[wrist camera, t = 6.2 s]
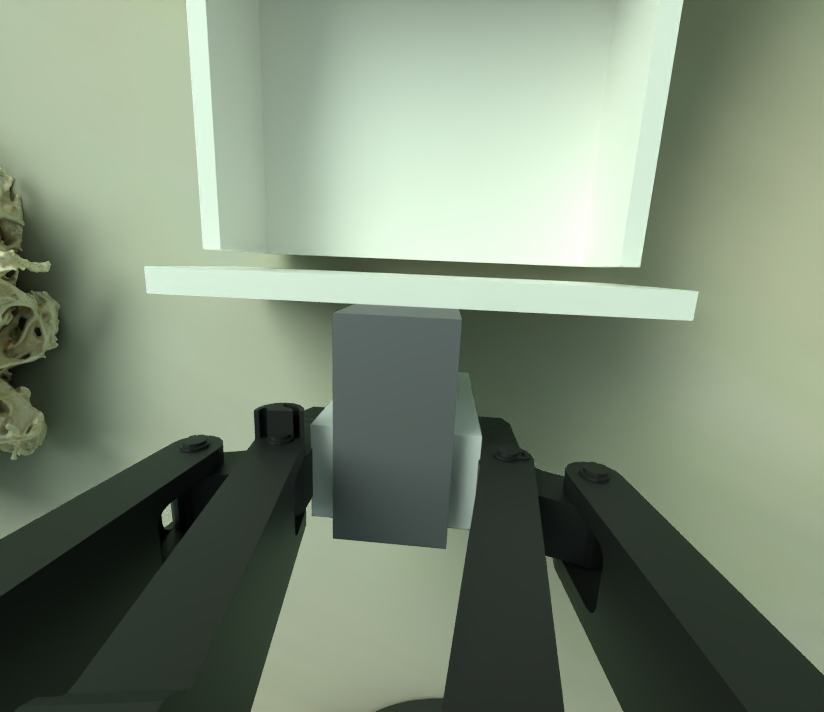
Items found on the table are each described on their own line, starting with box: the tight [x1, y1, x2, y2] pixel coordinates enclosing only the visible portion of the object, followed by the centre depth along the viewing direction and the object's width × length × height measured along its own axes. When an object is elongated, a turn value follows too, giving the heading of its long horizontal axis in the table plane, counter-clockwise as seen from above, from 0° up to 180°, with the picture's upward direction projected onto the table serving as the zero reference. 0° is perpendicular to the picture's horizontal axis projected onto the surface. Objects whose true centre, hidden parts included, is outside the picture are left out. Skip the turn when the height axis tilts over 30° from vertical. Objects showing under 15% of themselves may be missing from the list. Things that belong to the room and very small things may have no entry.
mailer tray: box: [144, 0, 699, 549], centre depth 12 cm, size 26×16×8 cm, turn 177°
